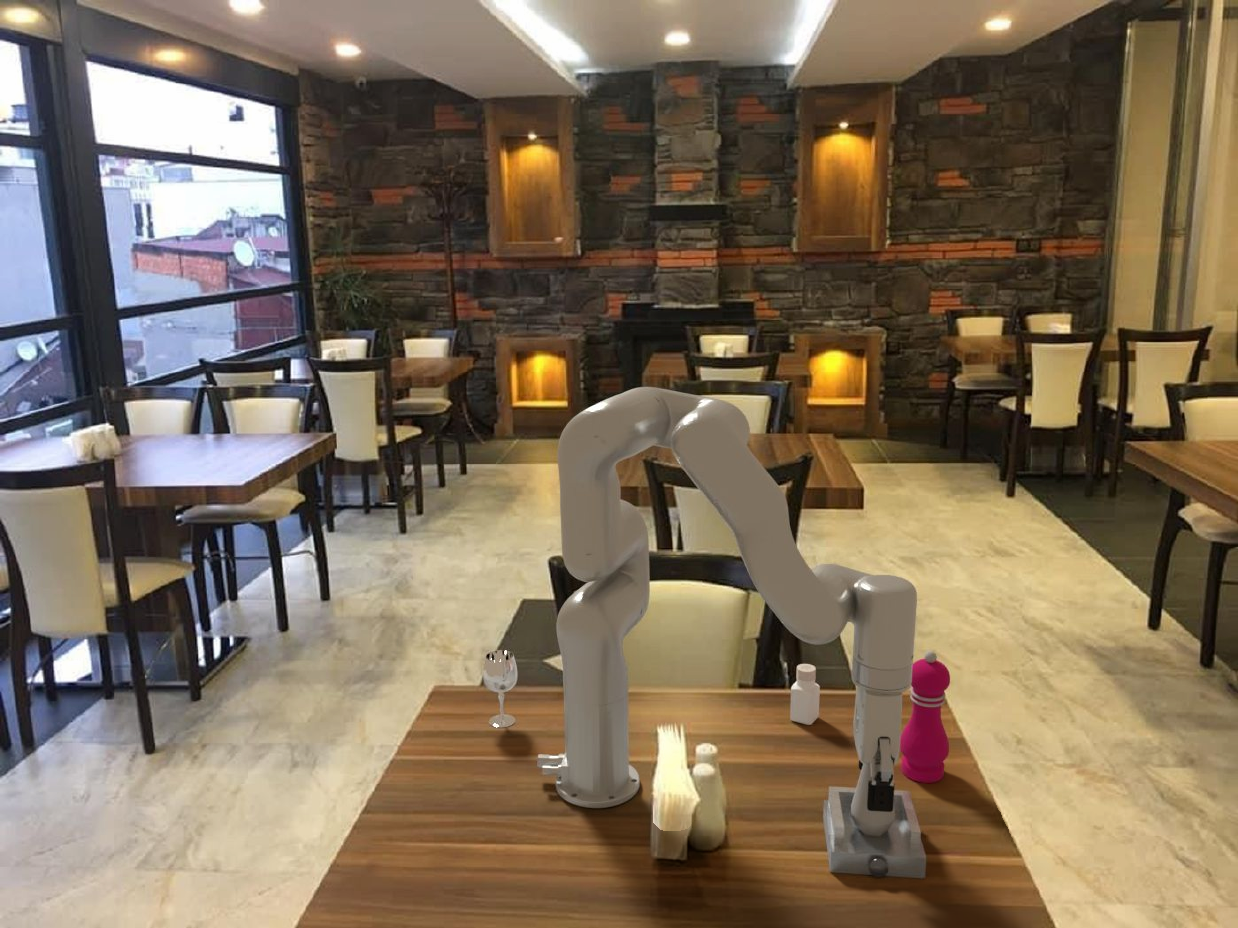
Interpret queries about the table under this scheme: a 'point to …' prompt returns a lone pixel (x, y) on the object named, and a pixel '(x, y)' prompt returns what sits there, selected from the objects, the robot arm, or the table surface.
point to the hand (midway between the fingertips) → (875, 788)
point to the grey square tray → (873, 839)
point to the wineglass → (500, 681)
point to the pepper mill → (926, 722)
